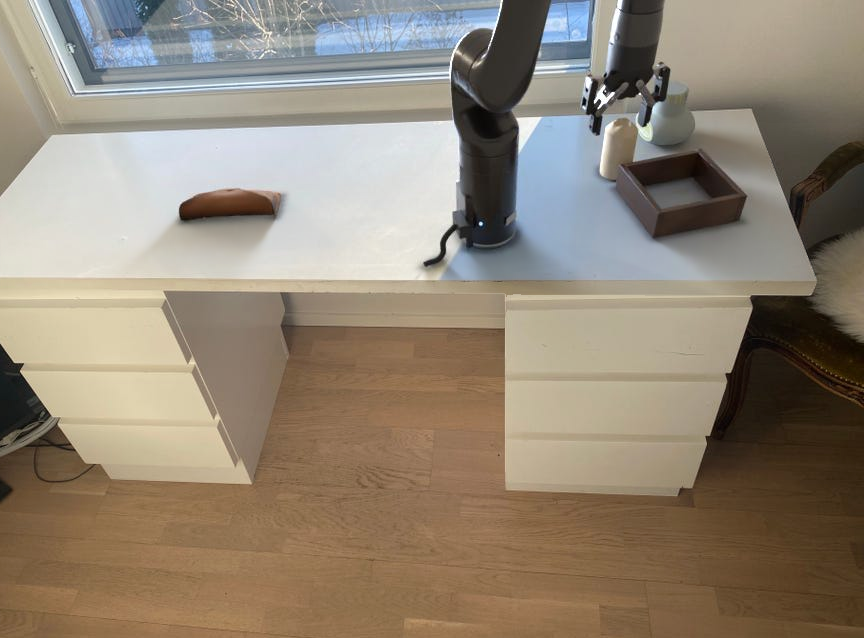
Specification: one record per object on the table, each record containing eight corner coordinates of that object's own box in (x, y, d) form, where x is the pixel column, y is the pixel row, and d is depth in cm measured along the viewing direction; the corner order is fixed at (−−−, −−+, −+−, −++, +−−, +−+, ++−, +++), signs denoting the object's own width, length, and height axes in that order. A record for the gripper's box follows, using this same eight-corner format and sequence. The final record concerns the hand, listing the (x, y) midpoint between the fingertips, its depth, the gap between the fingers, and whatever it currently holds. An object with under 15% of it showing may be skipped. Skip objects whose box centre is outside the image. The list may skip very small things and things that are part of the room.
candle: (631, 181, 129) (640, 130, 122) (599, 180, 130) (606, 129, 123) (630, 164, 133) (639, 114, 125) (599, 163, 134) (606, 113, 126)
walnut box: (652, 238, 118) (658, 213, 114) (615, 189, 128) (619, 164, 124) (739, 220, 118) (747, 195, 115) (695, 173, 129) (701, 148, 125)
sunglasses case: (282, 190, 137) (273, 174, 130) (281, 225, 135) (272, 210, 129) (190, 196, 139) (177, 180, 132) (189, 230, 137) (175, 216, 131)
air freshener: (629, 127, 141) (637, 78, 134) (669, 120, 142) (679, 70, 134) (653, 156, 134) (664, 105, 126) (696, 147, 134) (708, 97, 127)
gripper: (666, 19, 117) (647, 112, 128) (582, 33, 115) (571, 126, 127) (688, 37, 111) (666, 132, 123) (601, 52, 110) (587, 147, 122)
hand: (618, 129), depth 125 cm, fingers open, 8 cm apart
